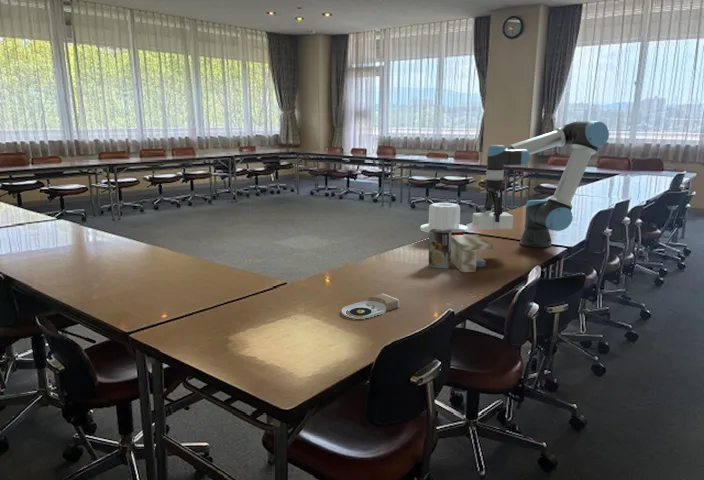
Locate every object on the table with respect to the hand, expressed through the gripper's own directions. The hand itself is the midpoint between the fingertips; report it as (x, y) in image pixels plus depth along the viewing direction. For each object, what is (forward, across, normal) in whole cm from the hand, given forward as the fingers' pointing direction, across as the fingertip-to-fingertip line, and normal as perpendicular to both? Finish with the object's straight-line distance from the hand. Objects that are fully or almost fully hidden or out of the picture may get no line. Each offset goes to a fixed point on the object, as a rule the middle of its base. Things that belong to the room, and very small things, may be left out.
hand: (492, 226), depth 238 cm
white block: (0, 0, 0) cm, 0 cm away
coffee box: (+14, +17, -29) cm, 36 cm away
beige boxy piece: (+14, +17, -16) cm, 27 cm away
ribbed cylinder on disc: (+14, -34, -14) cm, 40 cm away
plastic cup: (+14, -4, -17) cm, 22 cm away
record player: (+15, +67, -66) cm, 95 cm away
